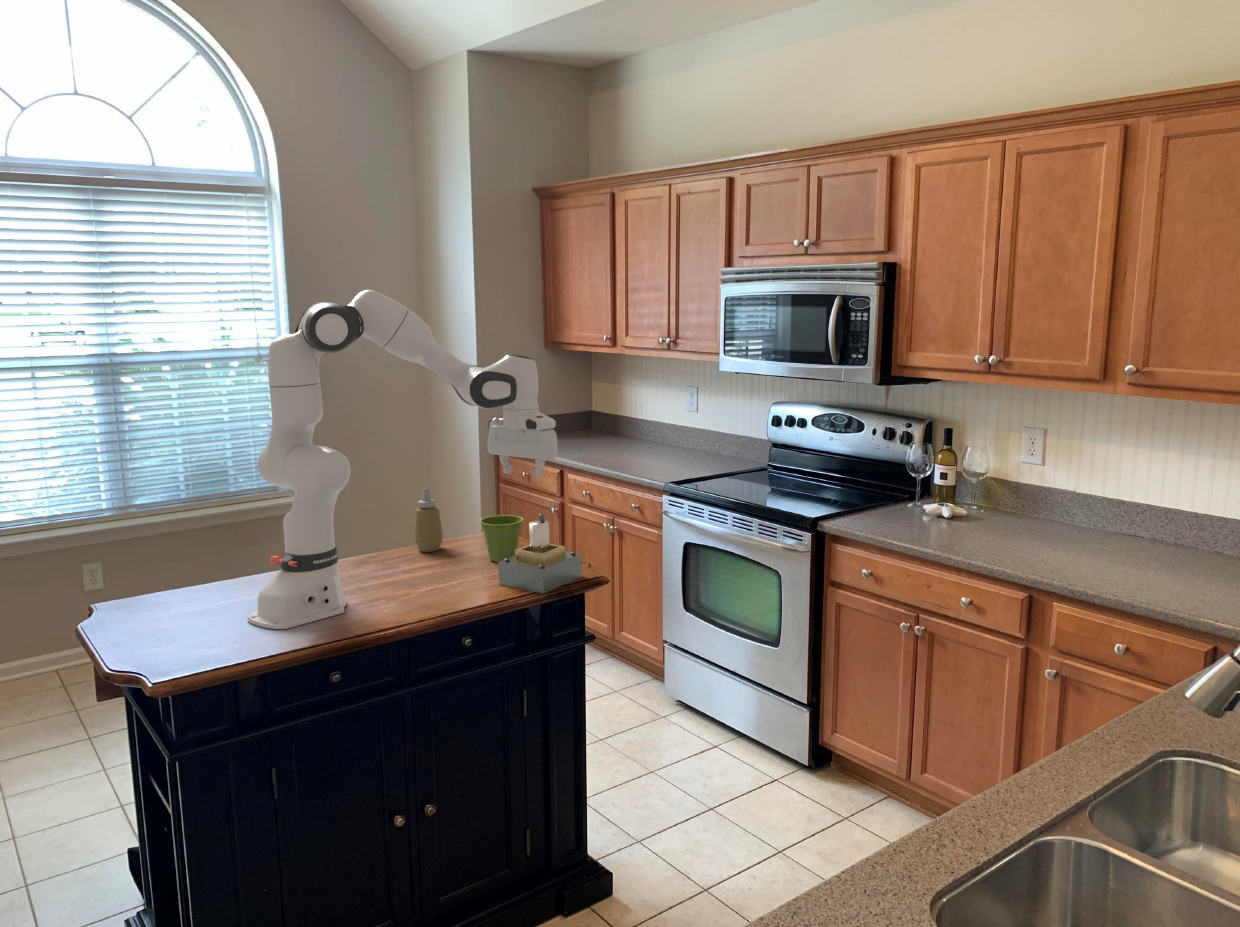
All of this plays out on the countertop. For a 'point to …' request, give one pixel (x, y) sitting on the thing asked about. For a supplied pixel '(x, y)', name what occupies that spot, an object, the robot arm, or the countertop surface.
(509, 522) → the plant pot
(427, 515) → the squeeze bottle
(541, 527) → the spout can
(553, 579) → the grey square housing block
